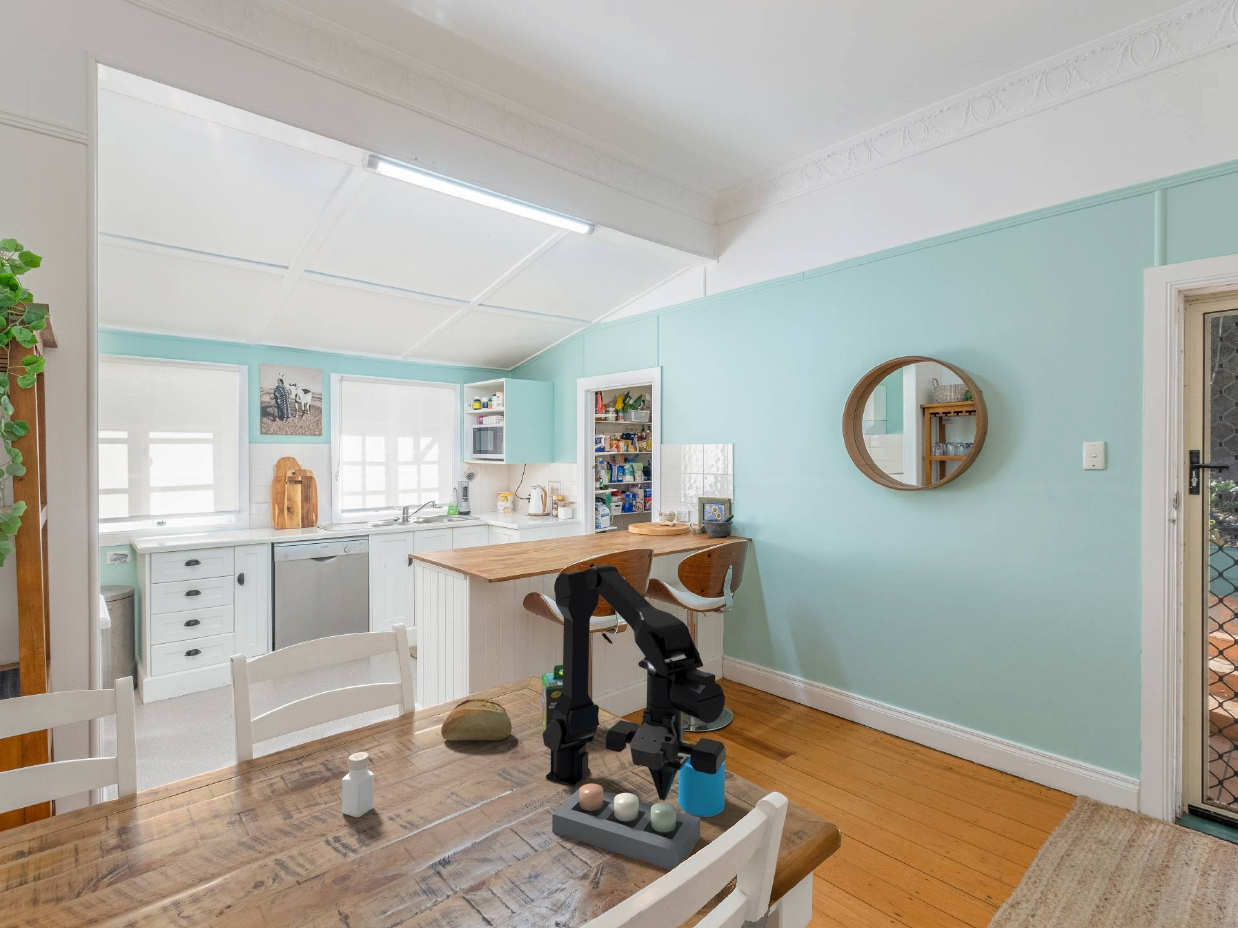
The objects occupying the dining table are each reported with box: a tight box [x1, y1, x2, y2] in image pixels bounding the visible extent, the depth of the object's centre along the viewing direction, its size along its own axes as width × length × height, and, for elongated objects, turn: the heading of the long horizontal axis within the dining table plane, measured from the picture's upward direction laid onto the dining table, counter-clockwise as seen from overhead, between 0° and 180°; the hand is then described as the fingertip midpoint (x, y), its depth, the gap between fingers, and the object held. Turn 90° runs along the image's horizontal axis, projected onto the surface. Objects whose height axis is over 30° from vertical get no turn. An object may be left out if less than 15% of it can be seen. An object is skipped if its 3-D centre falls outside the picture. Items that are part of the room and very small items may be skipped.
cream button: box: [614, 792, 640, 821], centre depth 102 cm, size 4×4×2 cm
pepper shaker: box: [341, 751, 376, 818], centre depth 108 cm, size 4×4×10 cm
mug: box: [677, 758, 726, 818], centre depth 114 cm, size 12×8×8 cm
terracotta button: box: [578, 783, 604, 811], centre depth 105 cm, size 4×4×2 cm
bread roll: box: [440, 697, 513, 741], centre depth 137 cm, size 10×15×8 cm, turn 100°
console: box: [551, 785, 701, 871], centre depth 102 cm, size 22×10×3 cm, turn 64°
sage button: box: [651, 802, 677, 832], centre depth 99 cm, size 4×4×2 cm
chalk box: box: [541, 664, 563, 732], centre depth 142 cm, size 9×9×15 cm
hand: (663, 799), depth 99 cm, fingers closed
